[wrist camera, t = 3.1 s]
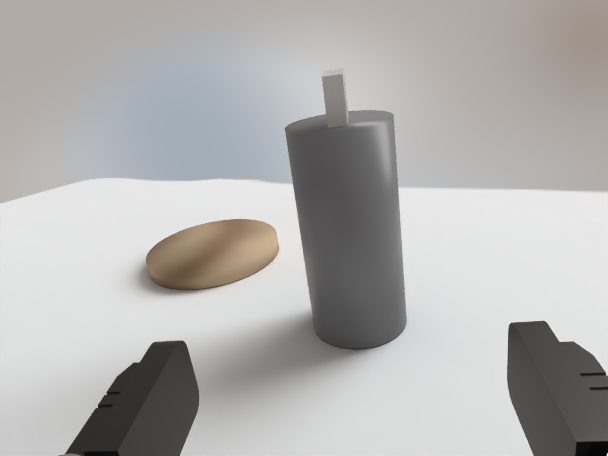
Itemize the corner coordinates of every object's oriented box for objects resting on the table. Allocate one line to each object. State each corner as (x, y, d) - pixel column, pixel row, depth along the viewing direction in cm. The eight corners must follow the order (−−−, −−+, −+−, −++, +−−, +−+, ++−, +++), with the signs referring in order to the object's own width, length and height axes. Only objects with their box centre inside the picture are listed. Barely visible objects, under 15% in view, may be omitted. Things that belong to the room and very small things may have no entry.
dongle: (310, 351, 23) (269, 86, 18) (317, 299, 27) (285, 74, 22) (411, 346, 22) (394, 70, 17) (402, 294, 26) (386, 60, 22)
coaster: (127, 294, 30) (123, 280, 30) (175, 236, 39) (173, 224, 38) (267, 283, 29) (264, 269, 29) (286, 226, 37) (284, 214, 37)
